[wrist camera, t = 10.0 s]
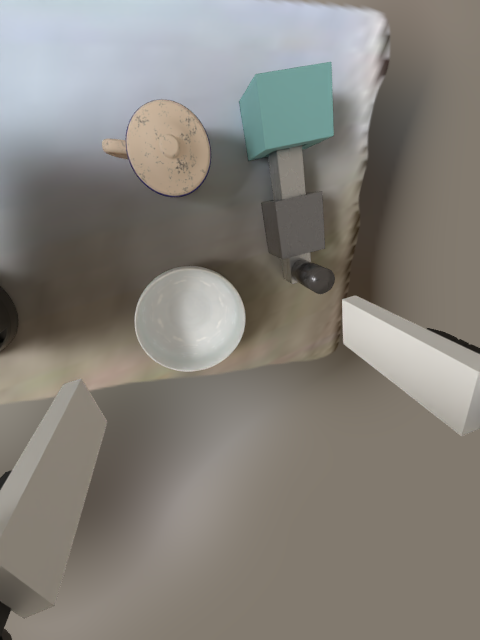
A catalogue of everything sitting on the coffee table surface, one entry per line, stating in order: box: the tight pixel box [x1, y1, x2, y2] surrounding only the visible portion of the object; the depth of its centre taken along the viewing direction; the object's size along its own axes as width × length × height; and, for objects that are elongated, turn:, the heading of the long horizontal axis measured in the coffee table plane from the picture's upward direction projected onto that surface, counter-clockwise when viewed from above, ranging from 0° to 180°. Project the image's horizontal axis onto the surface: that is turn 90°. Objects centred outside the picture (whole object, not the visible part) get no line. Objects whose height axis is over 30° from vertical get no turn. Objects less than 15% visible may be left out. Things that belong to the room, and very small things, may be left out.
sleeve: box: [261, 191, 325, 260], centre depth 40 cm, size 7×8×6 cm
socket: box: [239, 62, 334, 161], centre depth 33 cm, size 9×7×8 cm
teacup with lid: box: [102, 100, 211, 197], centre depth 30 cm, size 12×9×12 cm
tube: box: [268, 145, 335, 294], centre depth 36 cm, size 4×23×10 cm, turn 12°
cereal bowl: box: [135, 266, 246, 371], centre depth 42 cm, size 17×17×7 cm
